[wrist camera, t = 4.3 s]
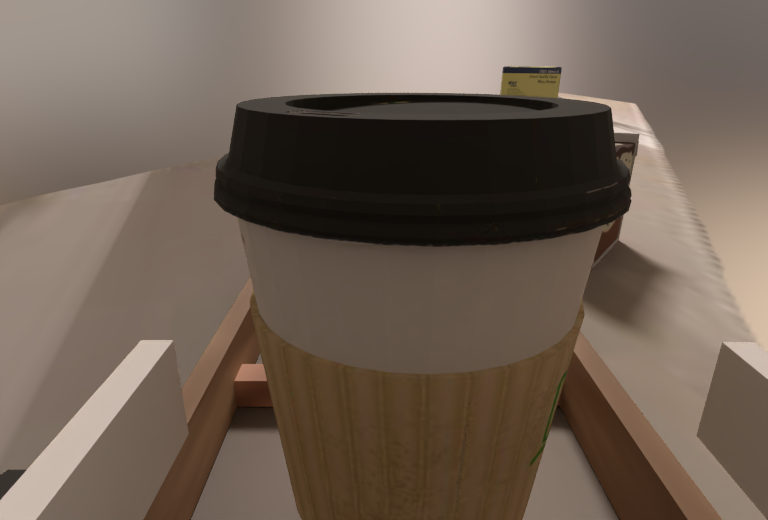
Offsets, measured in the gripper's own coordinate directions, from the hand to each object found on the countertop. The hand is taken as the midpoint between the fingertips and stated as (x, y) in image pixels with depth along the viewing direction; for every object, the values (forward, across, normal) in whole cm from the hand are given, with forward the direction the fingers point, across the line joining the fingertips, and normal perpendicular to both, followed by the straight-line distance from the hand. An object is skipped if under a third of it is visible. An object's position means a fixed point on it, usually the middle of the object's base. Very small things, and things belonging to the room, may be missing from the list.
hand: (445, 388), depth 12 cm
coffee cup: (+2, -1, -9) cm, 9 cm away
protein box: (+140, +39, -9) cm, 146 cm away
